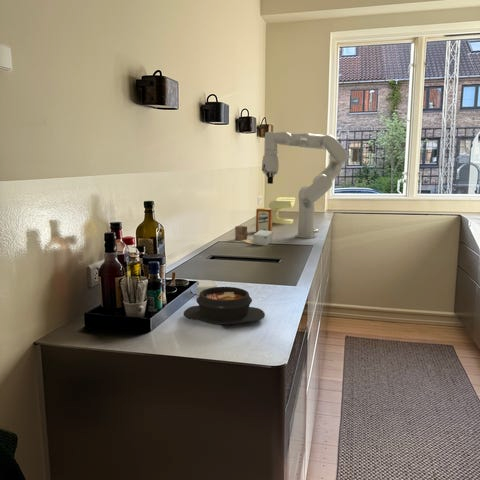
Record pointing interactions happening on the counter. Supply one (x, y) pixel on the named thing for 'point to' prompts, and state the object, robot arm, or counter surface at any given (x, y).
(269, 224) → the baking soda box
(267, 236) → the skincare box
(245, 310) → the casserole
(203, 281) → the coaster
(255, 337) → the counter surface
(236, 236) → the walnut block
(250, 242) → the brass plate
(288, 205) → the pale yellow c-shaped piece
